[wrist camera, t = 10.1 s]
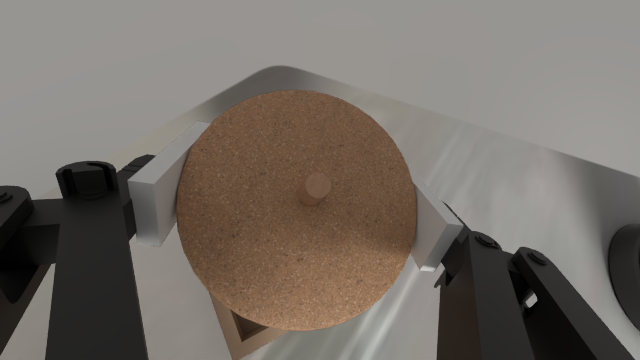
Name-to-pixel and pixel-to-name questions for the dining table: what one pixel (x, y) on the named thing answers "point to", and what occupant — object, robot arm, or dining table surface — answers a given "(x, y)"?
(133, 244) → the dining table surface
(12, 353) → the dining table surface
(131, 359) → the robot arm
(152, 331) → the dining table surface
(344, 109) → the lidded jar
